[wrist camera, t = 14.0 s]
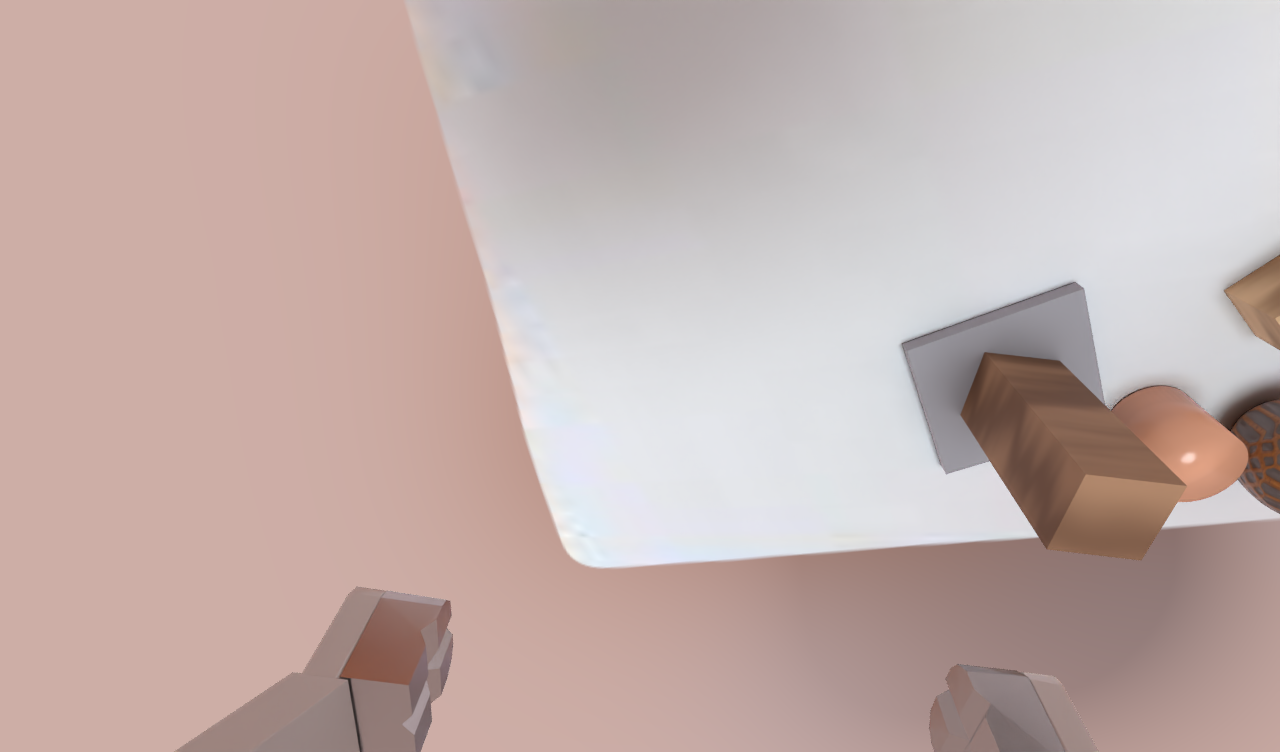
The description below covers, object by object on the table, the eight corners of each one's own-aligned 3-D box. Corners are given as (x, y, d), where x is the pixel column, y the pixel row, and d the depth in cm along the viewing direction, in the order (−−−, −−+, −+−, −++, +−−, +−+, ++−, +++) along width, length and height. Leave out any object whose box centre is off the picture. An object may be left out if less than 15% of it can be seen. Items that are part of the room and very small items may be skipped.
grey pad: (1075, 282, 39) (1084, 288, 38) (1100, 416, 43) (1108, 425, 42) (902, 343, 42) (906, 351, 41) (941, 465, 46) (946, 474, 45)
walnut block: (984, 352, 41) (1086, 474, 30) (1059, 360, 41) (1187, 485, 30) (960, 414, 43) (1046, 549, 32) (1031, 423, 43) (1141, 560, 32)
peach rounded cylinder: (1180, 372, 41) (1236, 418, 37) (1201, 428, 43) (1257, 479, 39) (1094, 409, 43) (1139, 458, 39) (1118, 462, 45) (1163, 513, 41)
